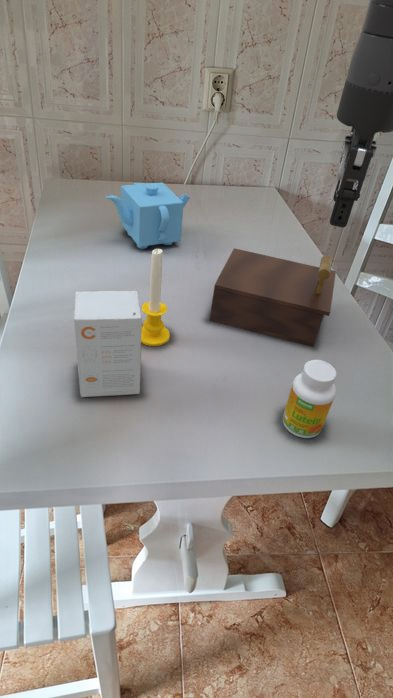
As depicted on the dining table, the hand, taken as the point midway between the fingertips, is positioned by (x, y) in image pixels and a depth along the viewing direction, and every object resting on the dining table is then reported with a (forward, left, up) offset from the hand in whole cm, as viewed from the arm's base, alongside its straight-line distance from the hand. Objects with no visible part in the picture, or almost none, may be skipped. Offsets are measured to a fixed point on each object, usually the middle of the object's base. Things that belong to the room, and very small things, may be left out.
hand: (338, 212), depth 67 cm
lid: (+6, -5, -16) cm, 18 cm away
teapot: (+36, -22, -22) cm, 47 cm away
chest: (+7, -5, -22) cm, 23 cm away
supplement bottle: (-2, +19, -22) cm, 29 cm away
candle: (+23, +9, -22) cm, 33 cm away
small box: (+25, +21, -22) cm, 39 cm away
